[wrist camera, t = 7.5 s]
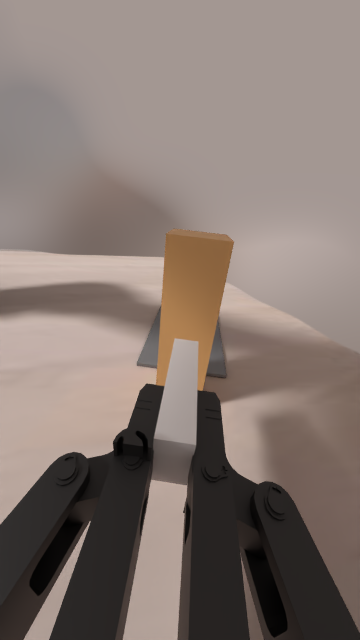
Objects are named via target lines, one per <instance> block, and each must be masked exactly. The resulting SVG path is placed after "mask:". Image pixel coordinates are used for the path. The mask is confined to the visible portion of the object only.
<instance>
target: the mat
mask: <svg viewBox="0 0 360 640" xmlns="http://www.w3.org/2000/svg"><path fill="white" fill-rule="evenodd" d="M160 319H161V307H160V309H159V312H158V314H157V316H156V319H155V321H154V324H153V326H152V328H151V331H150V333H149V335H148V338H147V340H146V342H145V345H144V347H143V350H142V352H141V354H140V357H139V359H138V361H137V366H144V367H151V368H157V364H158V349H159V334H160ZM206 375H208V376H215V377H222V378H226V376H227V375H226V368H225V362H224V355H223V349H222V342H221V336H220V329H219V323H218V320H217V325H216V330H215V334H214V339H213V344H212V349H211V353H210V358H209V363H208V368H207V372H206Z"/></svg>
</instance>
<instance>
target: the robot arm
mask: <svg viewBox="0 0 360 640" xmlns="http://www.w3.org/2000/svg"><path fill="white" fill-rule="evenodd" d="M197 385H198V341H191V340H183V339H176V338H175V339H174V344H173V349H172V354H171V358H170V363H169V368H168V373H167V377H166V382H165V386H160V385H153V384H146V385H145V386H144V387H143V388H142V389H141V390H140V392H139V395H138V398H137V401H136V404H135V408H134V410H133V413H132V416H131V419H130V422H129V425H128V428H127V429H124V430H123V431H121V432H120V433H119V434H118V435H117V436H116V438H115V439H114V441H113V448H114V451H112V452H110V453H108V454H105V455H102V456H97V457H92V458H86V457H85V456H84V455H83V454H82V453H77V452H72V453H67V454H65V455H63V456H61V457H59V458H58V459H57V460H56V461H54V462H53V463H52V464H51V465H50V467H49V468H48V469H47V470H46V471H45V472H44V474H43V475H42V476H41V477H40V478H39V480H38V481H37V482H36V483H35V484H34V486H33V487H32V488H31V489H30V490H29V491H28V493H27V494H26V495H25V496H24V497H23V499H22V500H21V501H20V502H19V503H18V505H17V506H16V507H15V508H14V509H13V510H12V512H11V513H10V514H9V515H8V516H7V518H6V519H5V520H4V521H3V522H2V524H1V525H0V640H23V639H24V638H25V636H26V634H27V632H28V630H29V629H30V627H31V625H32V623H33V621H34V620H35V618H36V616H37V614H38V613H39V611H40V609H41V607H42V605H43V604H44V602H45V600H46V598H47V596H48V595H49V593H50V591H51V589H52V587H53V586H54V584H55V582H56V580H57V579H58V577H59V575H60V573H61V571H62V570H63V568H64V566H65V564H66V562H67V561H68V559H69V557H70V555H71V553H72V552H73V550H74V548H75V546H76V544H77V543H78V541H79V539H80V537H81V536H82V534H83V532H84V530H85V528H86V527H87V525H88V523H89V521H91V523H90V526H89V529H88V531H87V534H86V537H85V540H84V543H83V546H82V548H81V551H80V554H79V557H78V560H77V562H76V565H75V568H74V571H73V574H72V577H71V579H70V582H69V585H68V588H67V591H66V594H65V596H64V599H63V602H62V605H61V608H60V611H59V613H58V616H57V619H56V622H55V625H54V628H53V630H52V633H51V636H50V639H49V640H123V634H124V629H125V623H126V618H127V612H128V607H129V601H130V596H131V590H132V585H133V579H134V574H135V569H136V563H137V558H138V552H139V547H140V541H141V536H142V530H143V525H144V519H145V514H146V508H147V503H148V496H149V488H150V482H151V480H157V481H164V482H170V483H176V484H183V485H187V483H188V486H187V498H186V502H185V507H184V511H183V513H185V518H184V536H183V553H182V571H181V589H180V606H179V624H178V640H250V637H249V628H248V619H247V610H246V601H245V592H244V583H243V574H242V565H241V557H242V561H243V564H244V568H245V572H246V575H247V579H248V583H249V586H250V590H251V593H252V597H253V601H254V604H255V608H256V612H257V615H258V619H259V623H260V626H261V630H262V633H263V637H264V640H360V633H359V631H358V629H357V627H356V625H355V623H354V621H353V619H352V617H351V615H350V613H349V611H348V609H347V607H346V605H345V603H344V601H343V599H342V597H341V595H340V593H339V591H338V589H337V587H336V585H335V583H334V581H333V579H332V577H331V575H330V573H329V571H328V569H327V567H326V565H325V563H324V561H323V559H322V557H321V555H320V553H319V551H318V549H317V547H316V545H315V543H314V541H313V539H312V537H311V535H310V533H309V531H308V529H307V527H306V525H305V523H304V521H303V519H302V517H301V515H300V513H299V511H298V509H297V507H296V505H295V503H294V501H293V500H292V498H291V497H290V495H289V494H288V493H287V492H286V491H285V490H284V489H283V488H282V487H281V486H279V485H277V484H275V483H273V482H267V481H265V482H262V483H260V484H259V485H258V484H256V483H254V482H252V481H250V480H248V479H246V478H245V477H243V476H241V475H240V474H238V473H237V472H236V471H235V470H234V469H233V468H232V467H231V465H230V464H229V462H228V460H227V458H226V453H225V445H224V435H223V425H222V415H221V405H220V400H219V399H218V397H217V395H216V393H214V392H207V391H200V390H197ZM240 553H241V556H240Z"/></svg>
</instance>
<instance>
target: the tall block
mask: <svg viewBox="0 0 360 640" xmlns="http://www.w3.org/2000/svg"><path fill="white" fill-rule="evenodd" d="M233 244H234V242H233V240H232V239H231V238H229V237H228V236H227V235H224V234H215V233H207V232H198V231H190V230H182V229H173V230H171V231H169V232H168V233H166V244H165V259H164V274H163V289H162V304H161V319H160V334H159V349H158V364H157V379H156V385H160V386H165V382H166V377H167V373H168V368H169V363H170V358H171V354H172V349H173V344H174V339H175V338H176V339H183V340H191V341H198V385H197V390H200V391H203V387H204V382H205V377H206V372H207V368H208V363H209V358H210V353H211V349H212V344H213V339H214V334H215V330H216V325H217V320H218V315H219V311H220V306H221V301H222V296H223V292H224V287H225V282H226V277H227V273H228V268H229V263H230V258H231V253H232V249H233Z"/></svg>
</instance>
